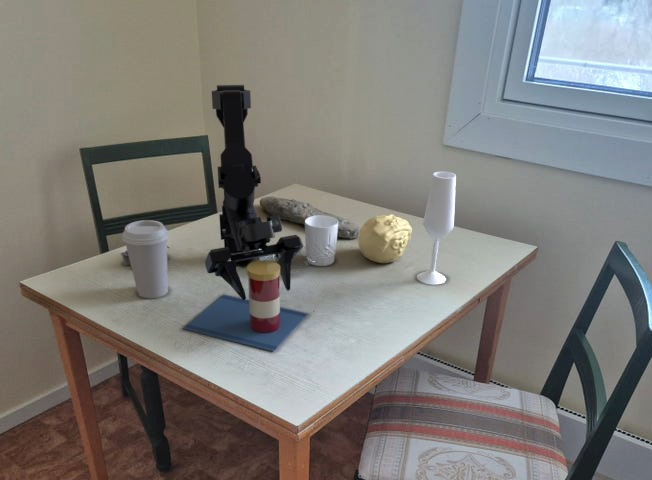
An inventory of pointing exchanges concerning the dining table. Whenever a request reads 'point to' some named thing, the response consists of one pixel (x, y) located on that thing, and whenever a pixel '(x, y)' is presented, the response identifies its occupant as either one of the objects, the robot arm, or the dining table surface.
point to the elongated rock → (305, 214)
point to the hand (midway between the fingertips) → (267, 294)
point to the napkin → (242, 323)
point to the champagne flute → (439, 219)
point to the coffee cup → (148, 256)
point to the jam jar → (264, 296)
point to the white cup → (321, 239)
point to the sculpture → (384, 238)
